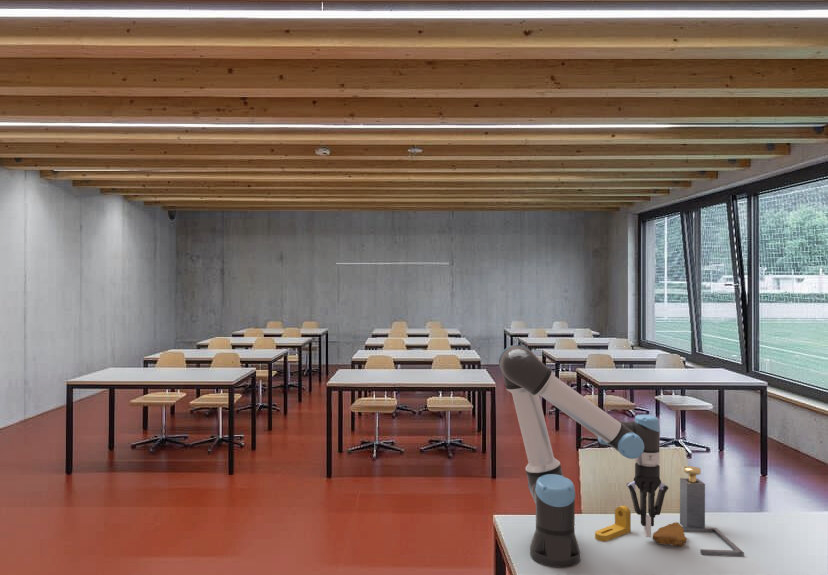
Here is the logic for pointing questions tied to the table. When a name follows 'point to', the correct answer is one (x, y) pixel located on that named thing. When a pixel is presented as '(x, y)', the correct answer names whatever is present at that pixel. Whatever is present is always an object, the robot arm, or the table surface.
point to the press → (700, 516)
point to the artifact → (670, 535)
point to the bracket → (616, 525)
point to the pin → (692, 473)
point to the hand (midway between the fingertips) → (647, 535)
